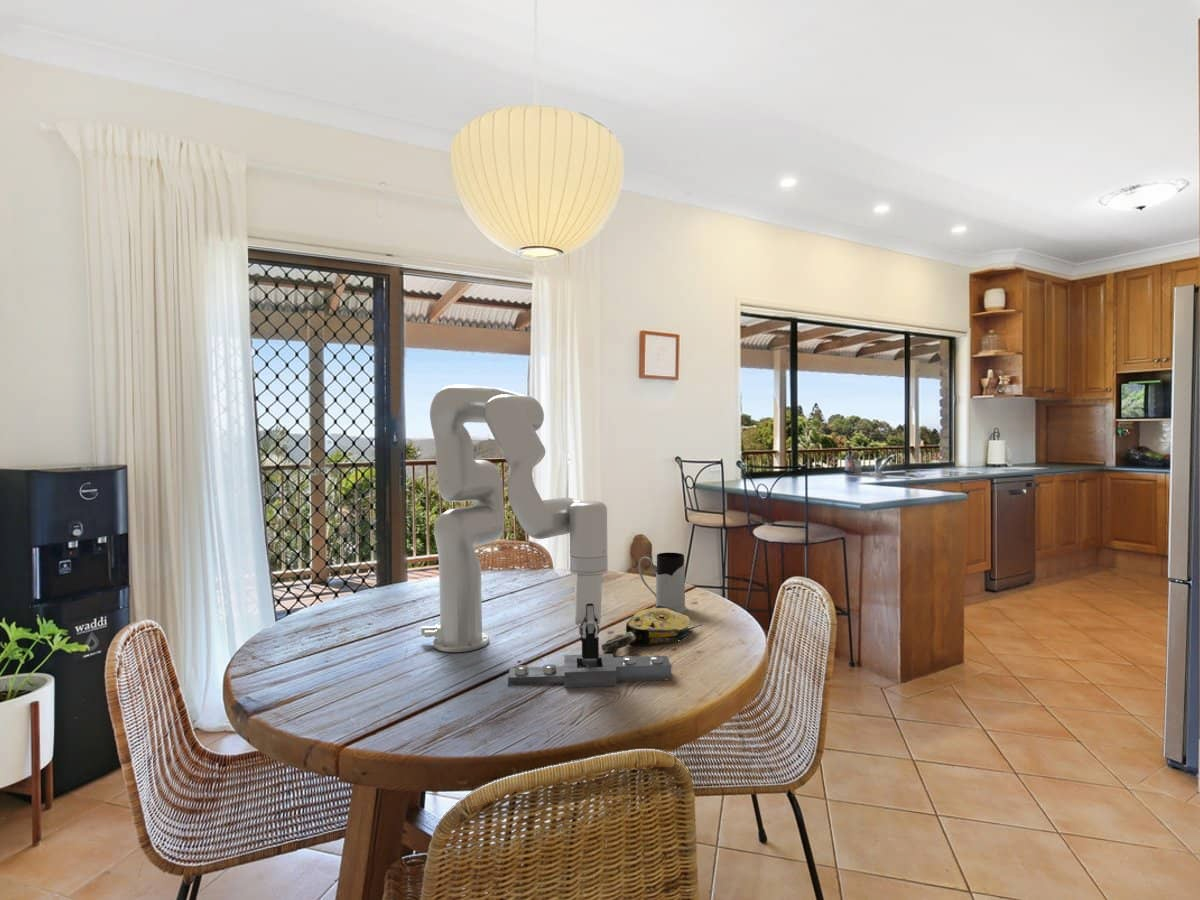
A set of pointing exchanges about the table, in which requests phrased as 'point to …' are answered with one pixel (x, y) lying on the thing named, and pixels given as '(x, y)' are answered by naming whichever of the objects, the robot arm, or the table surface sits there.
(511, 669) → the chain end left
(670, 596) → the grey black mug
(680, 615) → the pulley block
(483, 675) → the table surface
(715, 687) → the table surface
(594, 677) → the chain end right
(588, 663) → the steel pin
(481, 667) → the table surface
